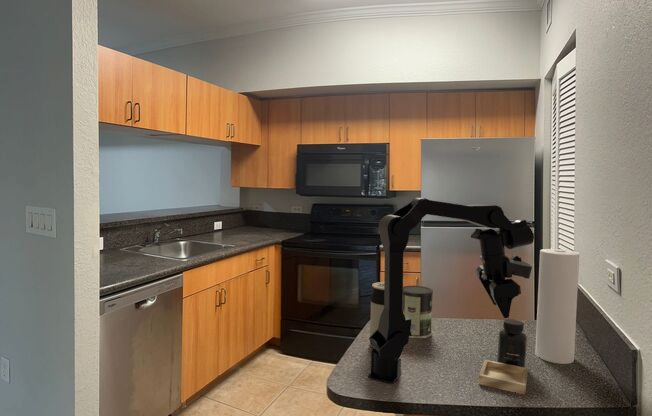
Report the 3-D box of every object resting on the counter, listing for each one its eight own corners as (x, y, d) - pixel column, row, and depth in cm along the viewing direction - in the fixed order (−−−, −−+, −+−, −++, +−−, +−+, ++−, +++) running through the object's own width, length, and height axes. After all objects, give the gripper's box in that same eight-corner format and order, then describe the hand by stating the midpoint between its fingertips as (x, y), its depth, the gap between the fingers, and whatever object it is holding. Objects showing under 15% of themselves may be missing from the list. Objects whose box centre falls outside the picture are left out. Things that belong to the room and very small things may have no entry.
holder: (478, 384, 99) (479, 375, 98) (484, 367, 107) (484, 359, 107) (525, 394, 94) (525, 385, 94) (527, 376, 103) (527, 368, 102)
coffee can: (427, 327, 137) (428, 285, 136) (435, 339, 127) (436, 293, 126) (396, 326, 137) (397, 284, 136) (401, 338, 127) (402, 293, 126)
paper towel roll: (579, 365, 110) (585, 253, 108) (541, 361, 111) (546, 251, 110) (566, 351, 119) (571, 248, 117) (531, 348, 121) (535, 246, 119)
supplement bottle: (509, 373, 104) (511, 327, 103) (491, 362, 111) (493, 318, 110) (531, 370, 106) (533, 325, 105) (513, 359, 113) (514, 316, 112)
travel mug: (402, 346, 121) (404, 285, 120) (385, 353, 115) (386, 290, 114) (382, 338, 127) (383, 280, 126) (364, 344, 121) (365, 284, 120)
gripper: (540, 257, 95) (548, 321, 97) (514, 240, 114) (521, 295, 115) (490, 263, 97) (498, 326, 98) (472, 246, 115) (480, 300, 117)
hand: (500, 310), depth 107 cm, fingers open, 9 cm apart
